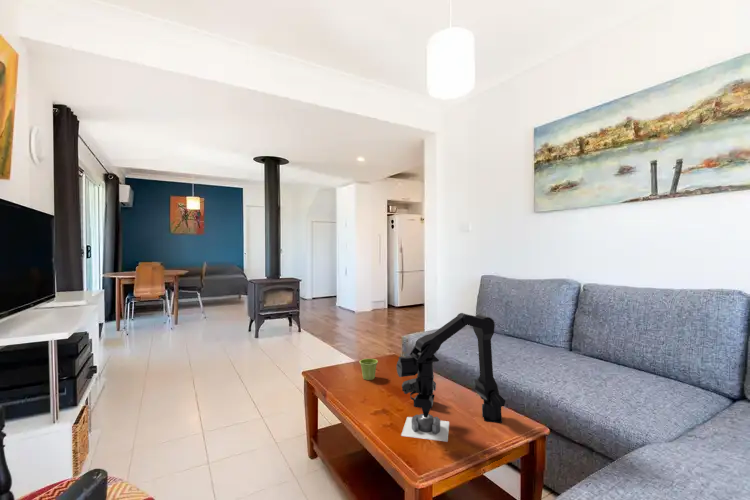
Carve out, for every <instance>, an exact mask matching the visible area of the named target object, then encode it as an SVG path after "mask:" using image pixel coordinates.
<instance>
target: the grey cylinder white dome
mask: <svg viewBox="0 0 750 500" xmlns="http://www.w3.org/2000/svg"><path fill="white" fill-rule="evenodd" d="M418 415H419V416H418V429H419V430H420V431H422V432H431V431H432V424H434V416H433V415H432V414H430V413H429V414H428V416H427V417H424V415H423V413H420V414H418Z"/></svg>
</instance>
